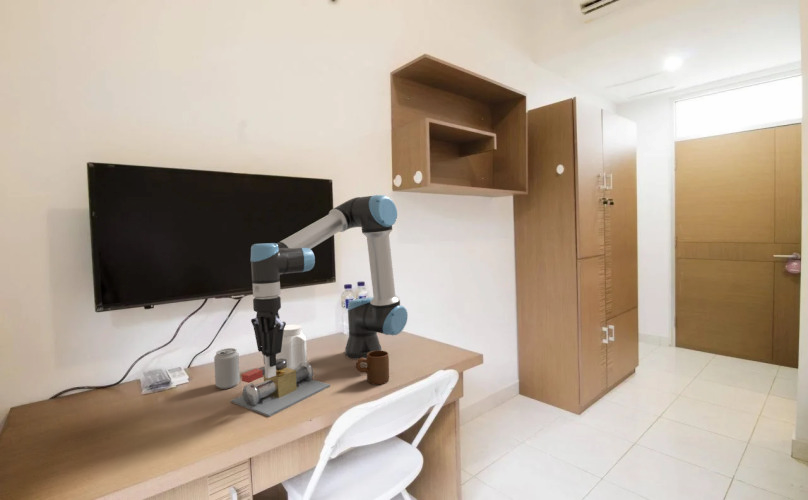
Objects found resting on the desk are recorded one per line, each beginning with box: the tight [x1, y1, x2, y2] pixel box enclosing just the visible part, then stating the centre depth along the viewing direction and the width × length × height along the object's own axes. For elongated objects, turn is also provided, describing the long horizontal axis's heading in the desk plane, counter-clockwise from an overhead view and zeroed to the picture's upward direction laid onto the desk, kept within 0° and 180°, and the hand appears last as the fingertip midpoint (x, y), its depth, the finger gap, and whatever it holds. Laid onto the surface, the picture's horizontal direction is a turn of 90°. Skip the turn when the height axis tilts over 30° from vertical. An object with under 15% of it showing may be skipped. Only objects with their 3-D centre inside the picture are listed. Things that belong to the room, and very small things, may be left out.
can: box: [213, 348, 241, 390], centre depth 129 cm, size 8×8×12 cm
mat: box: [230, 378, 331, 418], centre depth 122 cm, size 24×18×1 cm
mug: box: [355, 350, 390, 386], centre depth 129 cm, size 12×8×9 cm, turn 121°
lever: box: [241, 359, 287, 384], centre depth 117 cm, size 15×4×2 cm, turn 152°
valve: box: [242, 361, 314, 406], centre depth 122 cm, size 22×7×8 cm, turn 147°
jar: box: [276, 324, 308, 370], centre depth 147 cm, size 12×10×15 cm
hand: (270, 376), depth 112 cm, fingers closed
